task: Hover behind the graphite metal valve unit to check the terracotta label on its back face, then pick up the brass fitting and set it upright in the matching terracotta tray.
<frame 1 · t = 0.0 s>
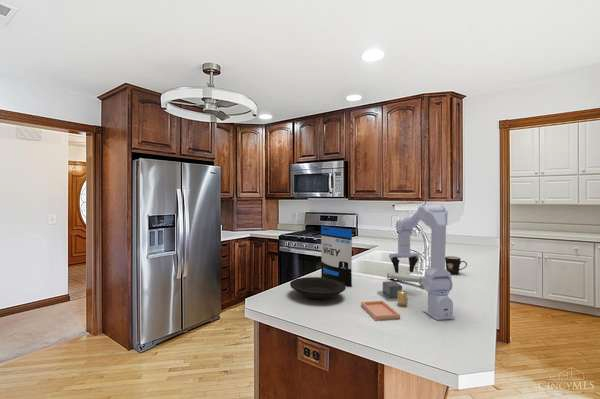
hand: (404, 272, 152), 10 cm above the counter, tool pointing down, fingers open, 7 cm apart
terracotta tray: (379, 312, 128), on the counter
showerhead: (433, 281, 172), on the counter
protein powder: (335, 282, 172), on the counter
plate: (317, 296, 148), on the counter
coffee mug: (454, 274, 187), on the counter
pale grey long piece: (408, 284, 168), on the counter
brass fitting: (402, 305, 135), on the counter
valve unit: (392, 296, 147), on the counter
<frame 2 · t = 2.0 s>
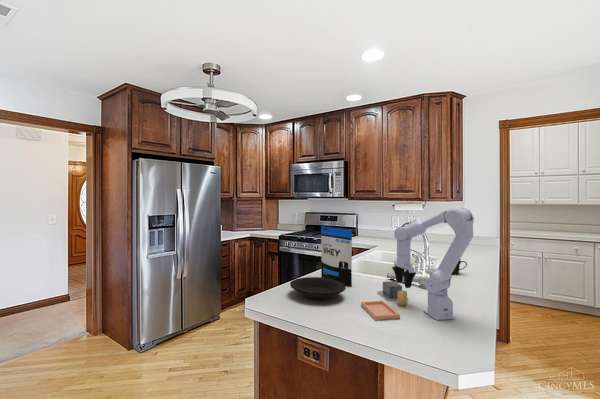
hand: (403, 285, 137), 8 cm above the counter, tool pointing down, fingers open, 7 cm apart
nothing on the counter moved.
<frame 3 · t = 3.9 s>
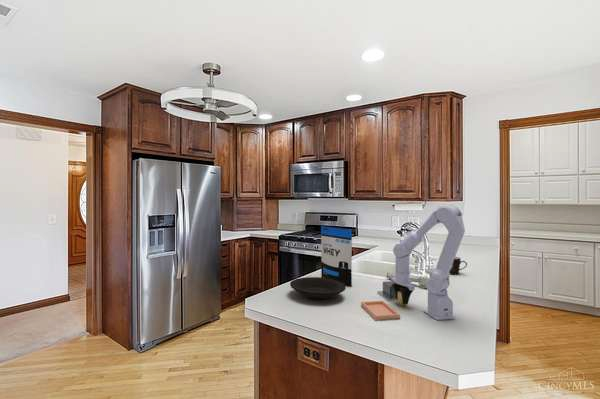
hand: (402, 302, 135), 1 cm above the counter, tool pointing down, fingers closed on brass fitting, 4 cm apart
brass fitting: (402, 305, 135), on the counter, touching gripper
everything else where it was.
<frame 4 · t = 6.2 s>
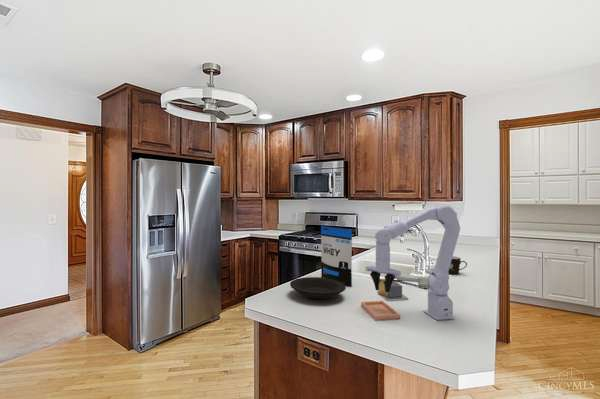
hand: (382, 290, 129), 8 cm above the counter, tool pointing down, fingers closed on brass fitting, 4 cm apart
brass fitting: (382, 294, 129), point 7 cm above the counter, touching gripper
everything else where it was.
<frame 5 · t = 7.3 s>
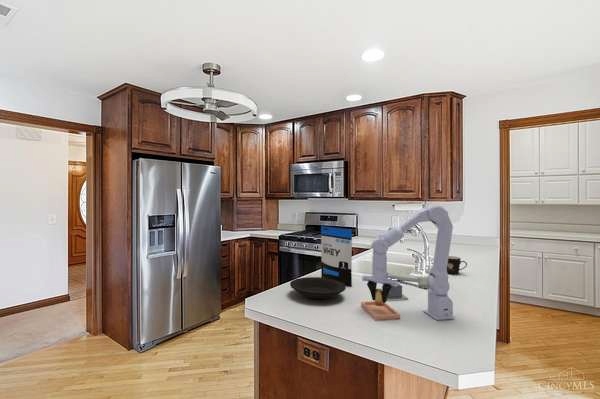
hand: (379, 300, 128), 5 cm above the counter, tool pointing down, fingers closed on brass fitting, 4 cm apart
brass fitting: (379, 304, 128), point 3 cm above the counter, touching gripper
everything else where it was.
when the fingers open (3 cm above the counter, at t = 8.4 s): brass fitting drops 1 cm, resting on terracotta tray.
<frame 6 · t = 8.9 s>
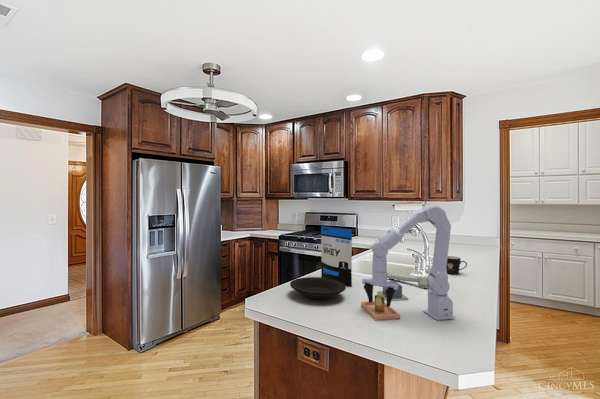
hand: (379, 303, 128), 3 cm above the counter, tool pointing down, fingers open, 7 cm apart
brass fitting: (379, 310, 128), point 1 cm above the counter, touching terracotta tray
everything else where it was.
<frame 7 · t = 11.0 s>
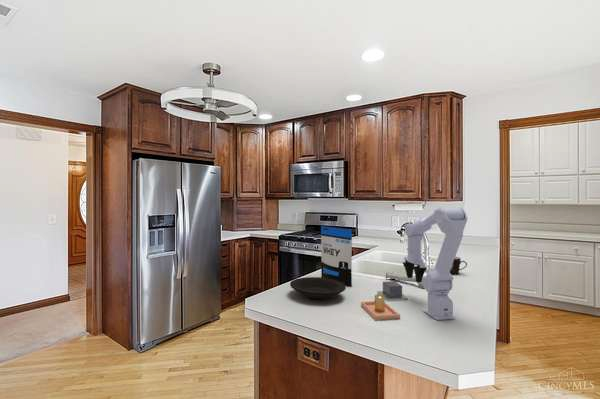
hand: (414, 279, 141), 9 cm above the counter, tool pointing down, fingers open, 7 cm apart
nothing on the counter moved.
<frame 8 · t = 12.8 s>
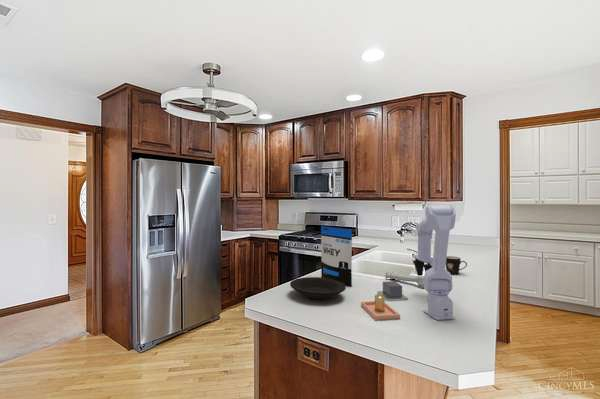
hand: (424, 277, 146), 9 cm above the counter, tool pointing down, fingers open, 7 cm apart
at the end: brass fitting inside the target area on the terracotta tray (0.1 cm from its centre), point 0.6 cm above the terracotta tray's base; brass fitting tilted 0°; the gripper is holding nothing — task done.
